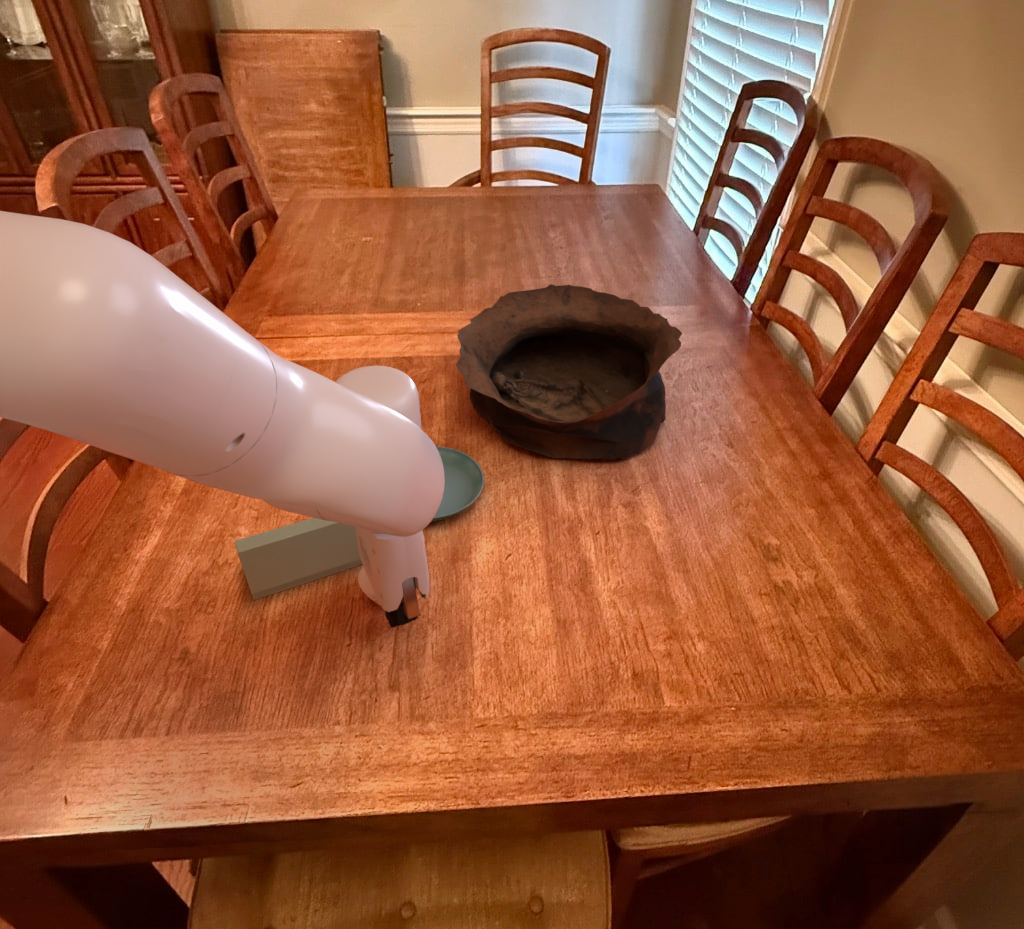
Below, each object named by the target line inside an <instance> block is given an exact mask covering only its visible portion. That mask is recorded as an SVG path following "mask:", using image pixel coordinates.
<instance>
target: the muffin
mask: <svg viewBox="0 0 1024 929" xmlns="http://www.w3.org/2000/svg"><path fill="white" fill-rule="evenodd" d="M357 578H358V579H357V580H358V581H357V582H358V584H359V587H360V590H361V591H362V592H363V593H364V595H365V596H366V597H367V598H369V599H370V600H372V601H373V602H374V603H375V604H376V605H378V606H381V605H380V603H379V601H378V599H377V597H376V595H375V592H374V590H373V588H372V585H371V583H370V581H369V578H368V576H367V573H366V571H365V569H364V566H363V565H361V567H360V570H359V572H358V577H357Z"/></svg>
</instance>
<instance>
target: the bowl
mask: <svg viewBox="0 0 1024 929" xmlns="http://www.w3.org/2000/svg"><path fill="white" fill-rule="evenodd" d="M469 321H470V323H468V324H466V325H465V326H464V327H462V328H460V329H458V330H457V334H456V335H457V339H458V342H459V344H460V347H459V358H458V360H457V362H456V363H455V366H456V368H457V370H458V372H459V373H460V374H461V376H463V378H464V382H465V385H466V387H468V388H470V390H469V397H470V402H471V406H472V407H473V409H474V411H475V412H476V413H477V415H478V416H480V418H481V419H484V420H485V421H487V422H488V423H489V424H490V425H491V427H492V428H493V429H494V430H495V431H496V432H497V433H498V434H499V436H500V437H501V438H503V439H504V440H505V441H507V442H508V443H510V444H512V445H513V446H517V447H519V448H522V449H525V450H527V451H530V452H533V453H536V454H539V455H542V456H545V457H549V458H553V459H554V458H555V459H571V460H573V459H574V460H610V461H614V460H621V459H622V458H625V459H628V458H630V457H632V456H633V455H635V454H639V453H641V452H644V451H645V450H647V449H648V448H650V447H651V446H652V445H653V444H654V443H655V441H656V439H657V437H658V433H659V431H660V427H661V424H663V423H664V422H665V421H666V420H667V416H666V413H667V412H666V411H667V407H666V406H667V405H666V395H667V394H666V393H667V392H666V386H665V382H664V380H663V378H662V374H661V373H660V370H661V368H662V367H663V366H664V364H665V363H666V362H667V361H668V359H670V358H671V357H672V356H673V355H674V354H676V352H678V351H679V350H680V348H682V341H681V340H680V338H681V336H682V335H683V332H682V331H681V330H680V329H679V328H677V327H676V326H672V325H671V324H670V323H669V321H668V318H666V317H664V316H662V315H661V313H657V312H656V313H655V312H654V311H652V309H650V307H649V306H641V305H640V304H639V303H638V302H636V301H635V300H633V299H627V298H621V297H619V296H617V295H615V294H612V293H607V292H601V291H597V290H593V289H592V288H591V287H587V286H578V285H571V284H563V285H555V284H552V283H551V284H548V285H547V286H545V287H541V288H535V289H527V290H520V291H519V290H518V291H511V292H507V293H506V294H505V295H503V296H502V295H500V297H499V298H498V299H497V300H496V301H495V303H494V304H493V305H492V306H491V307H487V308H484V309H483V310H482V311H479V313H478V314H477V315H475V316H473V317H471V318H470V319H469Z"/></svg>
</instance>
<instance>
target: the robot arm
mask: <svg viewBox="0 0 1024 929" xmlns="http://www.w3.org/2000/svg"><path fill="white" fill-rule="evenodd" d="M0 418H1V419H5V420H9V421H14V422H17V423H21V424H24V425H28V426H31V427H35V428H37V429H40V430H45V431H48V432H50V433H54V434H56V435H59V436H62V437H65V438H69V439H71V440H74V441H77V442H80V443H82V444H85V445H88V446H91V447H94V448H96V449H99V450H102V451H105V452H108V453H111V454H114V455H118V456H120V457H123V458H127V459H130V460H132V461H135V462H138V463H141V464H144V465H147V466H149V467H153V468H154V469H157V470H161V471H164V472H166V473H169V474H171V475H174V476H177V477H180V478H182V479H185V480H188V481H191V482H194V483H196V484H199V485H202V486H205V487H210V488H213V489H217V490H222V491H226V492H228V493H231V494H234V495H235V494H236V495H240V496H243V497H248V498H252V499H255V500H261V501H263V502H265V503H266V504H268V505H269V506H271V507H273V508H275V509H277V510H281V511H284V512H287V513H293V514H297V515H300V516H301V515H302V516H304V517H305V516H306V517H310V518H318V519H322V520H326V521H334V522H338V523H342V524H347V525H351V526H355V529H356V538H357V546H358V552H359V555H360V558H361V561H362V564H363V565H362V566H364V569H365V571H366V573H367V576H368V578H369V581H370V583H371V585H372V588H373V590H374V592H375V595H376V597H377V599H378V601H379V603H380V605H379V606H380V607H381V609H382V610H384V615H385V619H386V620H387V621H388V625H389V627H390V628H391V629H393V628H396V627H399V626H405V625H408V624H409V623H411V622H414V621H416V620H417V619H419V616H421V611H420V606H419V600H418V595H417V591H418V593H419V595H420V597H421V599H424V600H426V599H427V598H428V597H429V594H430V587H431V586H430V574H429V565H428V557H427V551H426V550H427V549H426V544H425V543H426V542H425V535H424V531H423V530H424V529H425V528H427V527H428V526H429V525H430V523H431V522H433V521H432V519H433V518H434V516H435V515H436V513H437V511H438V509H439V506H440V504H441V501H442V498H443V493H444V484H445V475H444V467H443V463H442V459H441V456H440V454H439V451H438V449H437V448H436V446H437V445H436V444H435V442H434V441H433V440H432V439H431V437H430V436H429V435H428V434H427V433H426V432H425V431H424V430H423V429H422V417H421V403H420V396H419V391H418V388H417V385H416V383H415V382H414V380H413V379H412V378H411V377H410V376H409V375H408V374H407V373H406V372H404V371H402V370H400V369H398V368H395V367H391V366H388V365H365V366H361V367H357V368H353V369H351V370H349V371H347V372H345V373H344V374H342V375H340V376H339V377H337V379H336V380H335V381H334V380H332V379H330V378H328V377H326V376H325V375H322V374H320V373H318V372H316V371H313V370H311V369H309V368H307V367H305V366H302V365H300V364H298V363H295V362H294V361H291V360H289V359H286V358H284V357H282V356H280V355H279V354H277V353H276V352H274V351H273V350H271V349H270V348H268V347H267V346H266V345H265V344H263V343H262V342H261V341H260V340H259V339H257V338H256V337H255V336H253V335H252V334H251V333H249V332H248V331H246V330H245V329H244V328H242V327H241V326H240V325H239V324H238V323H236V322H235V321H234V320H233V319H232V318H230V317H229V316H227V314H225V313H224V312H223V311H222V310H220V308H218V307H216V306H215V305H214V304H213V302H211V301H209V299H207V298H206V297H205V296H203V295H202V294H201V293H199V292H198V291H197V290H196V289H194V288H193V287H192V286H190V284H188V283H187V282H185V281H184V280H183V279H182V278H180V277H179V276H178V275H176V273H174V272H173V271H171V270H170V268H168V267H166V266H165V265H164V264H163V263H161V262H160V261H159V260H158V259H156V258H155V257H154V256H152V255H151V254H149V253H148V252H146V251H145V250H143V249H142V248H140V247H138V245H135V244H134V243H133V242H131V241H129V240H126V239H124V238H122V237H120V236H117V235H116V234H114V233H111V232H109V231H106V230H103V229H100V228H97V227H94V226H92V225H90V224H89V225H88V224H85V223H82V222H76V221H72V220H67V219H62V218H55V217H46V216H39V215H33V214H25V213H18V212H12V211H3V210H0Z"/></svg>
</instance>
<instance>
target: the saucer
mask: <svg viewBox="0 0 1024 929" xmlns="http://www.w3.org/2000/svg"><path fill="white" fill-rule="evenodd" d="M435 446H436V448H437V449H438V451H439V454H440V456H441V459H442V463H443V467H444V475H445V484H444V493H443V498H442V501H441V504H440V506H439V509H438V511H437V513H436V515H435V516H434V518H433V519H432V521H431V522H436V521H442V520H445V519H449V518H452V517H454V516H456V515H458V514H460V513H461V512H463V511H465V510H466V509H468V508H469V507H470V506H471V505H472V504H473V503H474V502H475V501H476V500H477V499H478V497H479V496H480V495H481V493H482V492H483V490H484V484H485V476H484V471H483V469H482V468H481V466H480V464H479V463H478V462H477V461H476V460H475V459H474V458H473V457H472V456H470V455H469V454H467V453H465V452H464V451H461V450H458V449H455V448H452V447H447V446H442V445H441V446H440V445H439V446H437V445H435Z"/></svg>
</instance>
